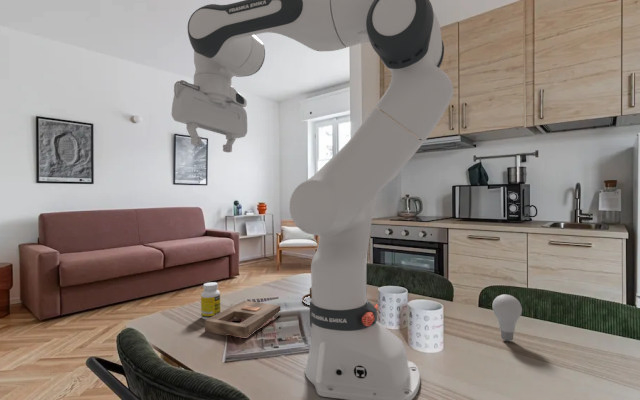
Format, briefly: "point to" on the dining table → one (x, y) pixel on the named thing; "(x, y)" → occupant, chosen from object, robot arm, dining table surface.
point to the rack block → (247, 310)
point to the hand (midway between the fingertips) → (212, 148)
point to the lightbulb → (507, 314)
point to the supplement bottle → (210, 300)
